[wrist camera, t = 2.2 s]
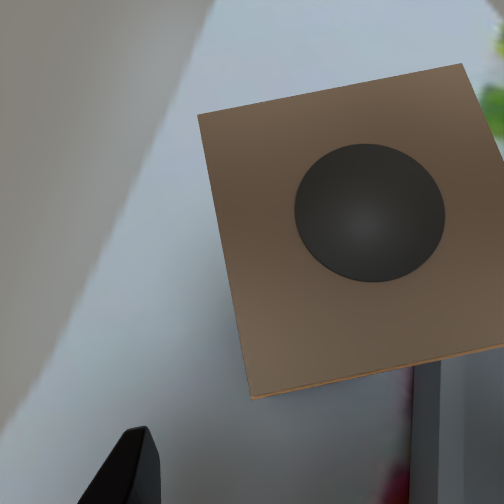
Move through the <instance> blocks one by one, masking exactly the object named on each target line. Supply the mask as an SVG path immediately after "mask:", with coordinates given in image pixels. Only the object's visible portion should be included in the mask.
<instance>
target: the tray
mask: <svg viewBox="0 0 504 504" xmlns="http://www.w3.org/2000/svg"><path fill="white" fill-rule="evenodd" d="M409 504H504V347H500V348H495V349H491V350H486V351H481V352H477V353H472V354H467V355H462V356H458V357H453V358H448V359H444V360H439V361H434V362H429V363H425V364H420V365H415V368H414V393H413V417H412V442H411V466H410V490H409Z"/></svg>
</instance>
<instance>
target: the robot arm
mask: <svg viewBox="0 0 504 504" xmlns="http://www.w3.org/2000/svg"><path fill="white" fill-rule="evenodd" d="M77 504H161V477H160V458H159V453H158V450H157V448H156V445H155V443H154V440H153V438H152V435H151V433H150V430H149V429H148V427H147V426H140V427H135V428H130V429H127V430H126V431H125V432H124V433H123V434H122V436H121V437H120V439H119V441H118V442H117V444H116V445H115V447H114V448H113V450H112V451H111V453H110V454H109V456H108V457H107V459H106V460H105V462H104V463H103V465H102V466H101V468H100V469H99V471H98V472H97V474H96V476H95V477H94V479H93V480H92V482H91V483H90V485H89V486H88V488H87V489H86V491H85V492H84V494H83V495H82V497H81V498H80V500H79V501H78V503H77Z"/></svg>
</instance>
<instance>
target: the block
mask: <svg viewBox="0 0 504 504" xmlns="http://www.w3.org/2000/svg"><path fill="white" fill-rule="evenodd" d="M197 116H198V122H199V127H200V132H201V137H202V143H203V148H204V153H205V158H206V164H207V169H208V174H209V179H210V185H211V190H212V195H213V200H214V206H215V211H216V216H217V221H218V227H219V232H220V237H221V243H222V248H223V253H224V258H225V264H226V269H227V274H228V279H229V285H230V290H231V295H232V300H233V306H234V311H235V316H236V321H237V327H238V332H239V337H240V342H241V348H242V353H243V358H244V363H245V369H246V374H247V379H248V384H249V390H250V395H251V398H252V400H255V399H259V398H264V397H269V396H273V395H278V394H283V393H288V392H292V391H297V390H302V389H306V388H311V387H316V386H321V385H325V384H330V383H335V382H340V381H344V380H349V379H354V378H358V377H363V376H368V375H373V374H377V373H382V372H387V371H392V370H396V369H401V368H406V367H410V366H415V365H420V364H425V363H429V362H434V361H439V360H444V359H448V358H453V357H458V356H462V355H467V354H472V353H477V352H481V351H486V350H491V349H495V348H500V347H504V161H503V159H502V156H501V154H500V152H499V149H498V147H497V144H496V142H495V140H494V137H493V135H492V133H491V130H490V128H489V126H488V123H487V121H486V119H485V116H484V114H483V112H482V109H481V107H480V105H479V102H478V100H477V98H476V95H475V93H474V90H473V88H472V86H471V83H470V81H469V79H468V76H467V74H466V72H465V69H464V67H463V65H462V63H460V64H455V65H450V66H445V67H440V68H434V69H429V70H424V71H419V72H414V73H409V74H404V75H399V76H394V77H388V78H383V79H378V80H373V81H368V82H363V83H358V84H353V85H347V86H342V87H337V88H332V89H327V90H322V91H317V92H312V93H307V94H301V95H296V96H291V97H286V98H281V99H276V100H271V101H266V102H260V103H255V104H250V105H245V106H240V107H235V108H230V109H225V110H220V111H214V112H209V113H204V114H199V115H197Z"/></svg>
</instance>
